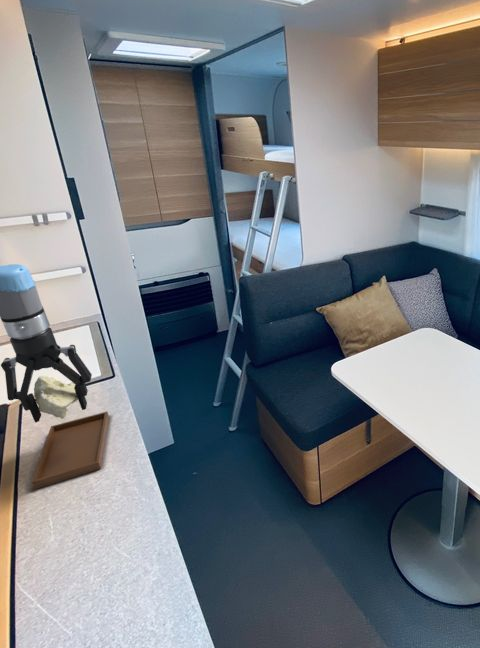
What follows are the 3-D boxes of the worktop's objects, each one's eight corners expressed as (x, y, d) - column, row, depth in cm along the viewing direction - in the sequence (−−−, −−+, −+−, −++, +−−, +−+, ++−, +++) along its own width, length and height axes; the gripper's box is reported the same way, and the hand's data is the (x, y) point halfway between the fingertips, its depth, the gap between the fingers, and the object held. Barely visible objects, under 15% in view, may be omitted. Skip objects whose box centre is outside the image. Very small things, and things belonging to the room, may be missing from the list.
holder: (34, 489, 94) (31, 482, 93) (53, 432, 112) (51, 426, 111) (100, 468, 100) (98, 462, 99) (109, 417, 117) (107, 411, 116)
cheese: (56, 400, 110) (-3, 398, 95) (73, 375, 111) (17, 370, 97) (93, 430, 105) (38, 432, 91) (110, 404, 106) (58, 403, 92)
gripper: (-39, 351, 85) (2, 436, 94) (84, 328, 94) (110, 407, 103) (-26, 336, 91) (11, 417, 100) (88, 315, 100) (113, 391, 109)
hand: (61, 412), depth 101 cm, fingers closed on cheese, 9 cm apart
